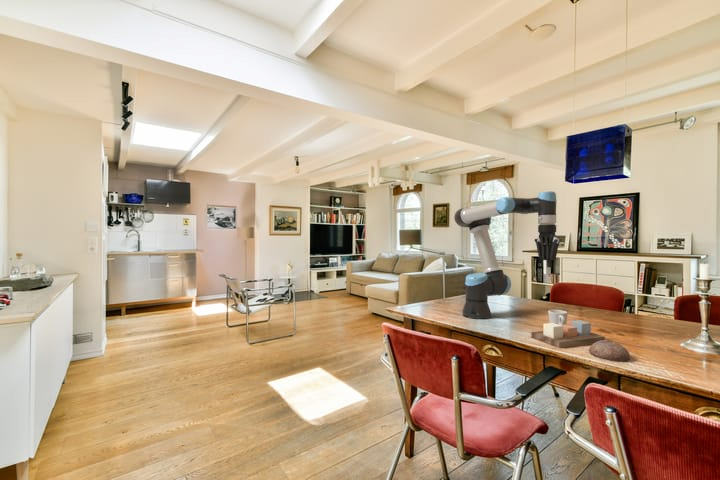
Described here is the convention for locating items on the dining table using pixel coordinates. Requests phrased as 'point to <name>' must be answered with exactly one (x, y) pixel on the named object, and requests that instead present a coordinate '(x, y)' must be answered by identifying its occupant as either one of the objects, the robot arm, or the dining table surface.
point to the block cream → (553, 330)
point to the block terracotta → (569, 330)
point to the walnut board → (568, 339)
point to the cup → (557, 317)
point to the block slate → (582, 327)
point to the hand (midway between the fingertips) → (547, 273)
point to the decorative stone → (609, 351)
